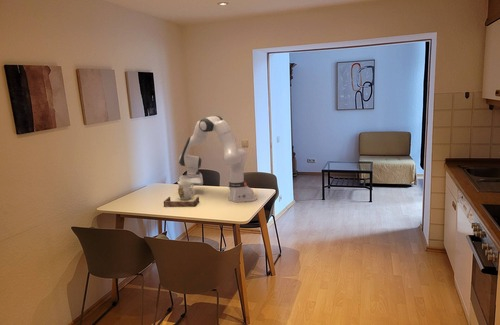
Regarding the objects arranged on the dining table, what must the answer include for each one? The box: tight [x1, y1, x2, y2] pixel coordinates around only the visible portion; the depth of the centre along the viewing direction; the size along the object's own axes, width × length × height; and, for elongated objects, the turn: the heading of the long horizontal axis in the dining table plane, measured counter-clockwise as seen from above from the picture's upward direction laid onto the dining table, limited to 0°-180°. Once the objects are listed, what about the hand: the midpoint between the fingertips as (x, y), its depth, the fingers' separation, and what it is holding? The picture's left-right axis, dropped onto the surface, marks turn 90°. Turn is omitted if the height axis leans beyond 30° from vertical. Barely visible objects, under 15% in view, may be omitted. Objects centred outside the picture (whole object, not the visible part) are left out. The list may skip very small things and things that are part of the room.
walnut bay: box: [163, 196, 200, 208], centre depth 291 cm, size 24×13×4 cm, turn 84°
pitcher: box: [176, 180, 196, 201], centre depth 303 cm, size 11×18×14 cm, turn 56°
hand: (189, 189), depth 313 cm, fingers closed
